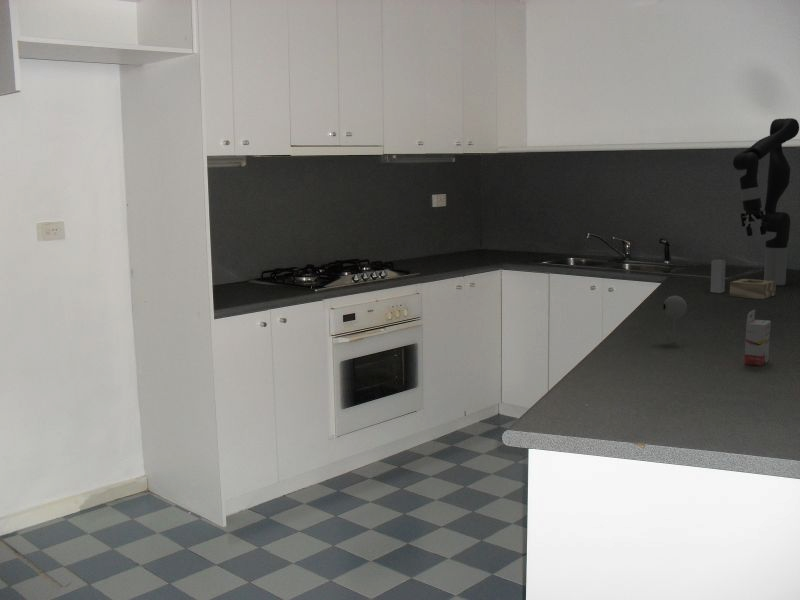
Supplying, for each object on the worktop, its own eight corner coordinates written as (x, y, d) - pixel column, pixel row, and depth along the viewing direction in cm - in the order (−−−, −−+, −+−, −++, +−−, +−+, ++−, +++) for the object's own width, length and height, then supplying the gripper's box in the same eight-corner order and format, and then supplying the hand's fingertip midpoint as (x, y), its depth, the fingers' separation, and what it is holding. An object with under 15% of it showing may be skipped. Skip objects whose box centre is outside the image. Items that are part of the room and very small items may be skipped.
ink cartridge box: (762, 366, 247) (764, 314, 244) (743, 364, 249) (746, 313, 247) (769, 360, 254) (771, 310, 251) (751, 358, 256) (753, 308, 254)
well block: (742, 292, 386) (742, 278, 385) (775, 295, 377) (775, 281, 376) (729, 296, 376) (730, 282, 375) (762, 299, 366) (763, 284, 366)
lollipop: (658, 340, 285) (660, 294, 283) (680, 339, 285) (681, 293, 283) (667, 344, 278) (668, 297, 276) (689, 344, 278) (690, 296, 276)
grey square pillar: (714, 291, 391) (715, 259, 389) (724, 291, 388) (725, 260, 386) (710, 292, 388) (711, 260, 386) (720, 293, 385) (721, 261, 383)
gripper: (769, 195, 382) (775, 232, 383) (747, 199, 396) (752, 234, 397) (755, 198, 380) (760, 235, 381) (733, 201, 393) (738, 237, 394)
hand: (756, 235), depth 389 cm, fingers open, 8 cm apart
